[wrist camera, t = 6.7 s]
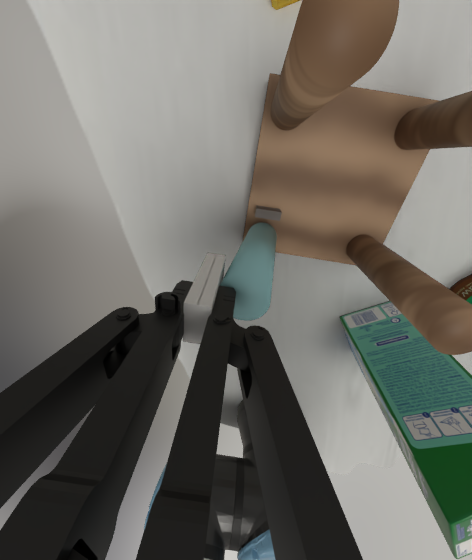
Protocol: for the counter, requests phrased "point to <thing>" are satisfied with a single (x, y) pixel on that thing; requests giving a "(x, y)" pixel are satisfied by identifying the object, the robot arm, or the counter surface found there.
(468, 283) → the food container
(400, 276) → the walnut stool
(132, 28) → the counter surface
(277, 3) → the dish sponge
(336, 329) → the counter surface
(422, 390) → the milk carton
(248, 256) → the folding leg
